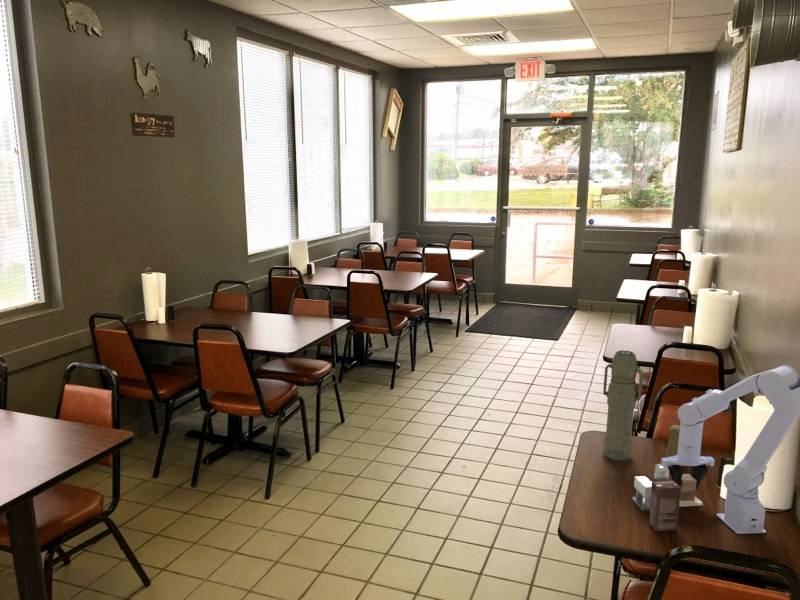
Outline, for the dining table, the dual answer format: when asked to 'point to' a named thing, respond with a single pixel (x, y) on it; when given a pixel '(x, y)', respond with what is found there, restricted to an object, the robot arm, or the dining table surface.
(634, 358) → the green thermos bottle
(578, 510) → the dining table surface
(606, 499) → the dining table surface
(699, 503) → the birch pad
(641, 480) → the mounted unit
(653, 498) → the box
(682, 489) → the walnut block
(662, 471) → the round canister
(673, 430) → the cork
